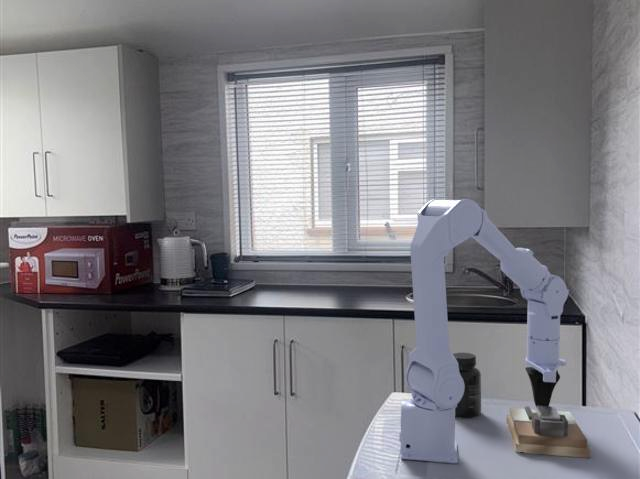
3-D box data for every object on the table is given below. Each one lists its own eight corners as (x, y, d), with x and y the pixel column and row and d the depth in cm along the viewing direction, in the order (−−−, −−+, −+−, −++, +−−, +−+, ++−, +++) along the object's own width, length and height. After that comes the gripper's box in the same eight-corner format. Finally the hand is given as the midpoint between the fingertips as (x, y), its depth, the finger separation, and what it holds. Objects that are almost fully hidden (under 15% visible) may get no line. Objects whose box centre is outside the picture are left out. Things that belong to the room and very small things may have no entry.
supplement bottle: (477, 406, 118) (478, 351, 117) (483, 419, 111) (484, 360, 110) (444, 405, 119) (445, 350, 118) (448, 418, 112) (449, 360, 111)
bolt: (541, 431, 98) (542, 416, 98) (536, 420, 103) (536, 405, 103) (559, 433, 97) (560, 417, 97) (554, 421, 102) (554, 406, 102)
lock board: (515, 452, 97) (516, 421, 97) (506, 422, 110) (507, 394, 110) (590, 458, 95) (591, 426, 95) (571, 426, 108) (572, 398, 107)
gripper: (575, 348, 97) (573, 424, 99) (557, 328, 112) (556, 394, 113) (532, 346, 99) (530, 421, 100) (520, 327, 113) (519, 392, 114)
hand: (541, 407), depth 107 cm, fingers closed
